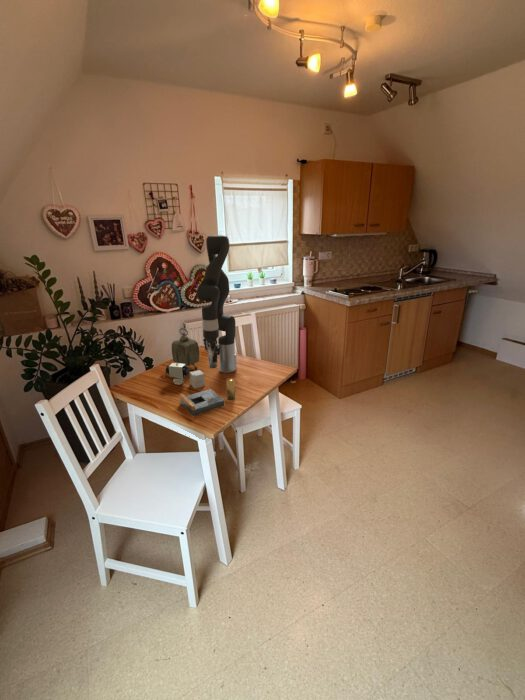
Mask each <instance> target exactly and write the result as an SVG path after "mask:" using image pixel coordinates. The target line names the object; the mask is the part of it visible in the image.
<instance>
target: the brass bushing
mask: <svg viewBox="0 0 525 700" xmlns="http://www.w3.org/2000/svg"><path fill="white" fill-rule="evenodd" d="M225 382H226V384H225V385H226V400H227V401H229V402H231V401H235V400H236V384H235V382H236V381H235V379H234V378H227V379H226V380H225Z"/></svg>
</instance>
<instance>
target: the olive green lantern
mask: <svg viewBox="0 0 525 700" xmlns="http://www.w3.org/2000/svg"><path fill="white" fill-rule="evenodd" d="M182 330H183V331H185V332H186V333H185V332H183V333H182V332H181V331H182ZM179 333H180V335H182V336H180V339H176V340H173V341H172V343H171V355H172V359H173V363H182V364H187V366H188V367H189V366H193V367H194V369H195V370H197V369H198V366H196V365H195V364H196V363H199V362H200V347H199V342H198V341H196V340H195V339H192V338H189V337H188V335H189V331H188V330H187V329H186V328H183V327H181V328H179Z"/></svg>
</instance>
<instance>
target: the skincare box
mask: <svg viewBox="0 0 525 700" xmlns="http://www.w3.org/2000/svg"><path fill="white" fill-rule="evenodd" d="M205 379H206V378H205V373H204V372H203V371H202V370H200V369H198V370H197V369H196V370H194V371H190V372H189V383H190V386H192V388H193V389H199V388H202V387H205V386H206V381H205Z"/></svg>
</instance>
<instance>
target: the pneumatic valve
mask: <svg viewBox="0 0 525 700" xmlns="http://www.w3.org/2000/svg"><path fill="white" fill-rule="evenodd" d="M189 372H191V371H190V367H189V366H187V364H182V363H176V362H171V363H170V364H168V365H167V366H166V367H165V373H166V374H167V375H168V378H173V380H172V381H173V383H174V385H176V386H177V385H178V386H181V385H182V384H184V383H185V378H186V377H187V376H190V373H189Z"/></svg>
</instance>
